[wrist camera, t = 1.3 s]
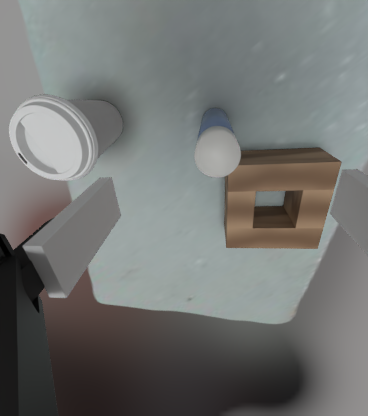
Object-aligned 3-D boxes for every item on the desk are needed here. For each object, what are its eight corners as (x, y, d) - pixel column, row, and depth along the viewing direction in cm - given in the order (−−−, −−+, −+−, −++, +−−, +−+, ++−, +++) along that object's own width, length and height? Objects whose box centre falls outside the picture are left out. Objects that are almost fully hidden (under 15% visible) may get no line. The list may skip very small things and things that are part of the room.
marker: (201, 108, 34) (193, 133, 19) (228, 107, 34) (242, 131, 18) (202, 135, 36) (195, 178, 21) (227, 134, 36) (239, 177, 20)
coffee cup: (67, 90, 35) (-16, 97, 22) (127, 87, 34) (75, 93, 21) (83, 151, 40) (22, 186, 27) (136, 150, 39) (98, 186, 26)
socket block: (225, 151, 37) (228, 165, 31) (319, 147, 35) (341, 161, 29) (224, 224, 44) (226, 247, 38) (302, 224, 43) (317, 248, 36)
